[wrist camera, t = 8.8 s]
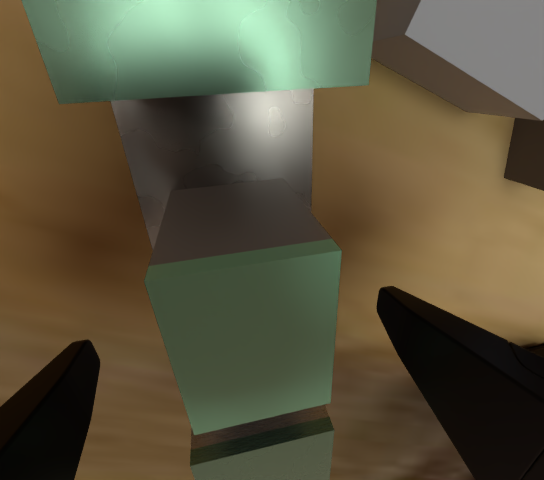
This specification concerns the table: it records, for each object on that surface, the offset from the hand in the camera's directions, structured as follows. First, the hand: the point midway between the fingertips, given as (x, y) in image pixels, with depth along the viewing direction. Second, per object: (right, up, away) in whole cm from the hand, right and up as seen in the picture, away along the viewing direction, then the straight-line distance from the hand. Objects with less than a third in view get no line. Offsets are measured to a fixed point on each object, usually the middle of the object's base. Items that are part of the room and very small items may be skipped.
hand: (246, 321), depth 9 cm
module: (-1, +2, +4) cm, 5 cm away
